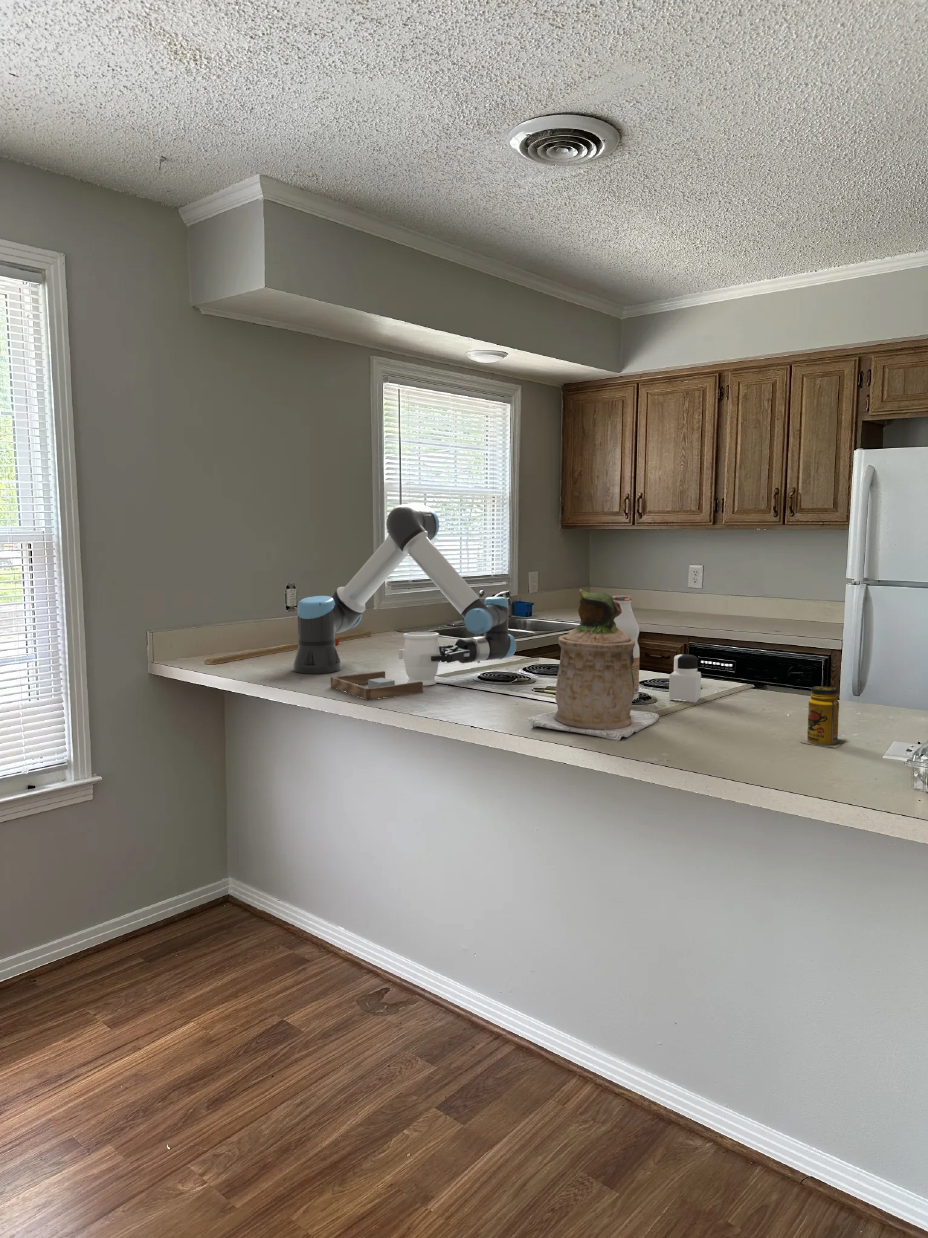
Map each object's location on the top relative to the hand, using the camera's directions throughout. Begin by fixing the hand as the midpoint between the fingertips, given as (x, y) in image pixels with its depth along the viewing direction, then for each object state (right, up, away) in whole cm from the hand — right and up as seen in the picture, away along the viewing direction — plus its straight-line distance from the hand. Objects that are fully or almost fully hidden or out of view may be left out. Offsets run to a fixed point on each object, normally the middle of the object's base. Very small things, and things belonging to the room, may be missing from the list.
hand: (409, 656), depth 248 cm
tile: (-8, -9, -5) cm, 13 cm away
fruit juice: (+58, -11, -21) cm, 62 cm away
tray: (-9, -9, -5) cm, 14 cm away
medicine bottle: (+75, -11, -20) cm, 78 cm away
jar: (+3, -8, +3) cm, 10 cm away
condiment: (+94, -16, -63) cm, 114 cm away
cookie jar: (+47, -14, -46) cm, 67 cm away
